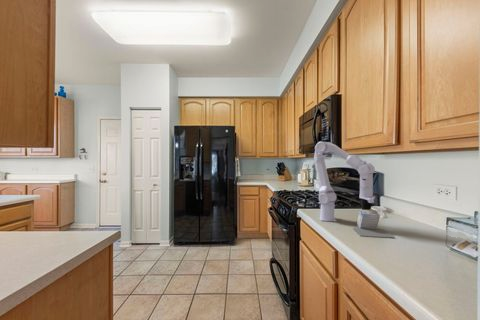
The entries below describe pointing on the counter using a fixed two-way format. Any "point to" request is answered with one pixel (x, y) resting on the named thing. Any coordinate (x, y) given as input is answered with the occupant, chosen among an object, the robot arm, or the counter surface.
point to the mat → (373, 233)
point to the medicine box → (368, 219)
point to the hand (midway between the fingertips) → (366, 214)
